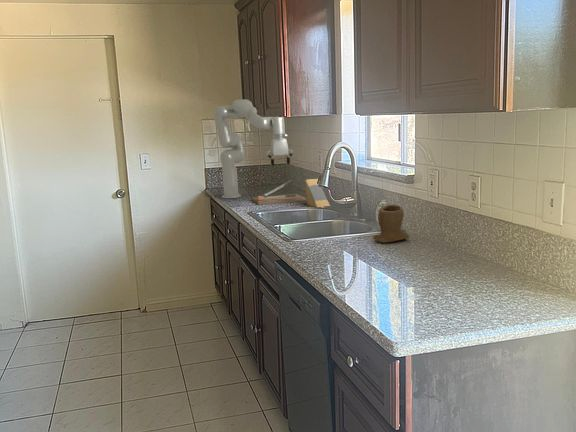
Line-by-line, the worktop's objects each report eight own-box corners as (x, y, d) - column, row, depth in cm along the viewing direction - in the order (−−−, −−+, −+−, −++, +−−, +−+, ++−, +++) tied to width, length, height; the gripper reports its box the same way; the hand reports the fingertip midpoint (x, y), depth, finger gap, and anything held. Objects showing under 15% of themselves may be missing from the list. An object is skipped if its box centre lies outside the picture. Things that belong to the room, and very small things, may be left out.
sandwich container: (317, 208, 326) (316, 182, 324) (306, 204, 340) (305, 179, 338) (330, 206, 329) (330, 180, 327) (319, 203, 343) (318, 178, 341)
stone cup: (385, 246, 229) (384, 209, 226) (369, 240, 239) (368, 205, 237) (416, 241, 235) (416, 205, 232) (399, 236, 245) (399, 201, 243)
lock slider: (258, 200, 352) (258, 196, 352) (257, 199, 355) (257, 196, 354) (263, 199, 353) (263, 196, 353) (262, 199, 355) (262, 195, 355)
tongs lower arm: (260, 199, 355) (260, 197, 355) (258, 198, 359) (258, 196, 358) (295, 196, 361) (295, 194, 361) (294, 195, 365) (293, 193, 365)
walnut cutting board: (251, 200, 366) (251, 197, 365) (296, 196, 373) (296, 193, 373) (258, 204, 348) (258, 201, 347) (305, 200, 355) (305, 197, 355)
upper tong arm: (265, 197, 356) (264, 194, 356) (264, 197, 359) (262, 194, 359) (293, 182, 359) (291, 179, 359) (291, 181, 363) (290, 179, 362)
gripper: (291, 135, 357) (292, 163, 360) (264, 137, 353) (265, 165, 356) (294, 136, 350) (295, 164, 353) (266, 137, 346) (268, 166, 349)
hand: (280, 164), depth 354 cm, fingers open, 9 cm apart
